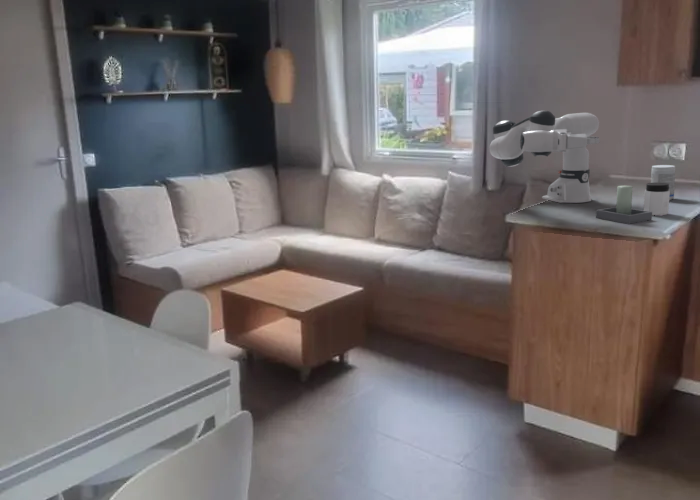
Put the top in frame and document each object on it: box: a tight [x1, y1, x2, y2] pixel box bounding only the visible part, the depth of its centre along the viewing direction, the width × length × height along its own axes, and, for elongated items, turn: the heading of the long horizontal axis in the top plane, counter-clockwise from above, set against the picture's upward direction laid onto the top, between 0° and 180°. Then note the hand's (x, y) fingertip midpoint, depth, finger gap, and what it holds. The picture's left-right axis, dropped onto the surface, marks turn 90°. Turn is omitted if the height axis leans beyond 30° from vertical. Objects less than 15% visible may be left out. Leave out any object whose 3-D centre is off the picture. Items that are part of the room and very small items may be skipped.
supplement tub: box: [650, 164, 676, 201], centre depth 288 cm, size 10×10×15 cm
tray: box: [595, 206, 653, 225], centre depth 252 cm, size 16×12×3 cm
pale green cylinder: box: [615, 185, 634, 215], centre depth 251 cm, size 5×5×12 cm
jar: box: [643, 182, 670, 217], centre depth 258 cm, size 9×8×12 cm
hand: (599, 139), depth 254 cm, fingers open, 8 cm apart
